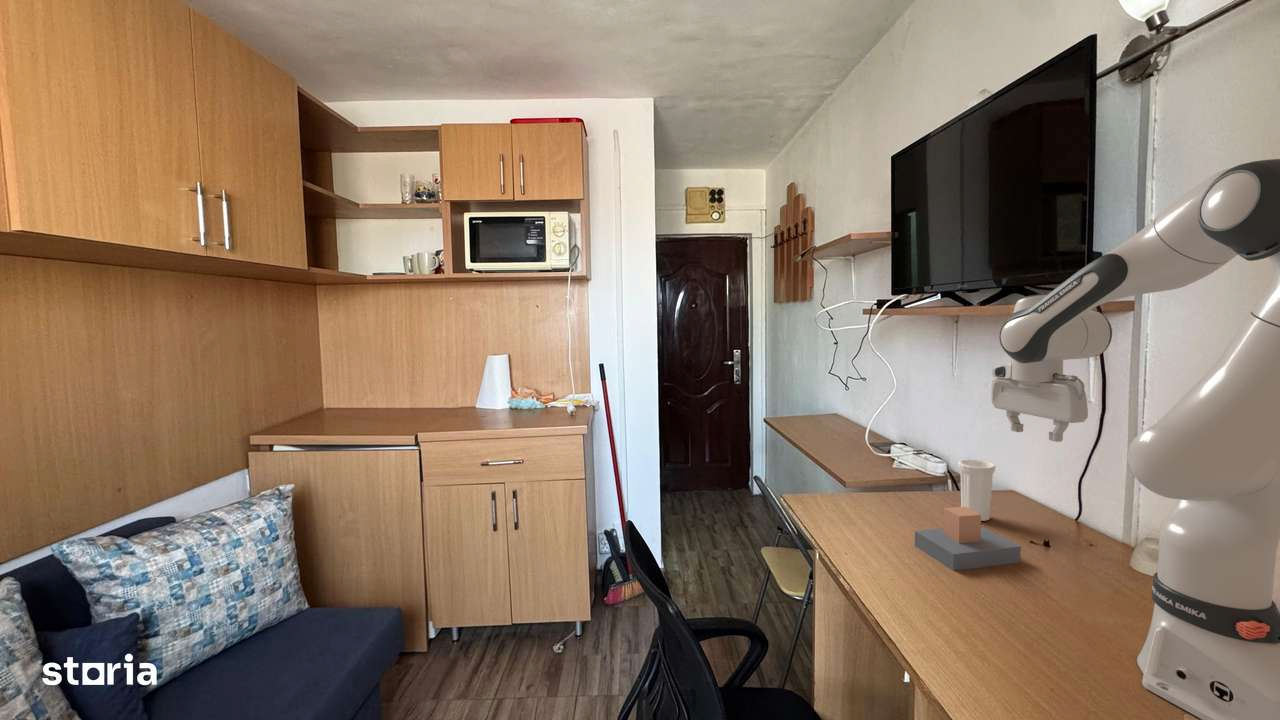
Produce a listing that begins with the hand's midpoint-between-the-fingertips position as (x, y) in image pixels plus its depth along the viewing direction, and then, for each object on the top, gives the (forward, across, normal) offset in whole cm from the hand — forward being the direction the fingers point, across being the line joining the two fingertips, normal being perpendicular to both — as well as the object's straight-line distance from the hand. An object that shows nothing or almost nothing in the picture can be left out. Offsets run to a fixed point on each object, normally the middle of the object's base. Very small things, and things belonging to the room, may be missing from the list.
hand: (1035, 436), depth 113 cm
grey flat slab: (+27, +4, +13) cm, 30 cm away
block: (+23, +5, +13) cm, 27 cm away
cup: (+26, +22, -4) cm, 34 cm away
